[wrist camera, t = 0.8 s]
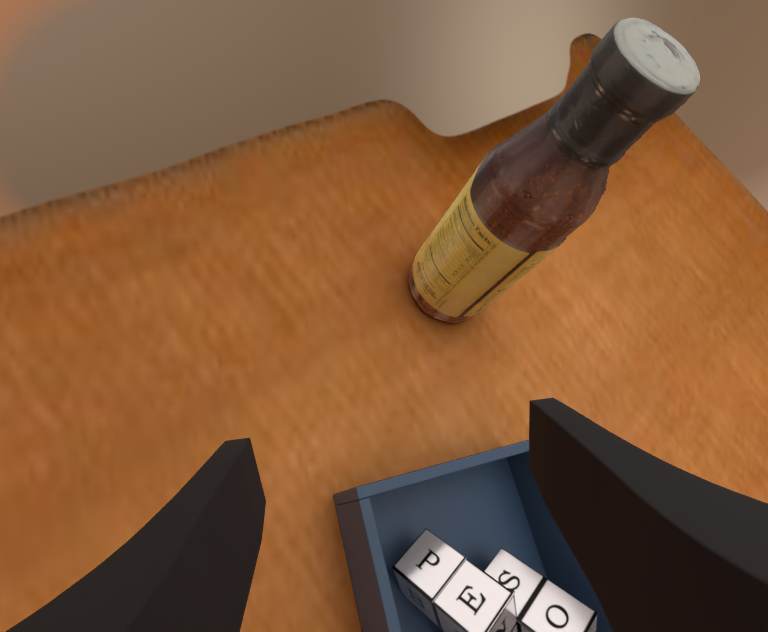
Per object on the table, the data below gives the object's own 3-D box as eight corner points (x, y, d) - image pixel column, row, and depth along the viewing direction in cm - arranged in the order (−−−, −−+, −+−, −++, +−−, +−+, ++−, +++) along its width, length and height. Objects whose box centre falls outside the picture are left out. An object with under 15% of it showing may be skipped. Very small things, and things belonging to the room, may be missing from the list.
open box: (592, 697, 27) (656, 722, 23) (400, 813, 22) (443, 870, 18) (506, 446, 31) (549, 434, 28) (332, 494, 26) (355, 487, 23)
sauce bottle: (473, 258, 37) (705, 25, 20) (484, 331, 35) (759, 134, 18) (396, 246, 35) (583, -26, 18) (401, 323, 33) (625, 90, 16)
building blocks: (411, 618, 27) (541, 741, 21) (391, 567, 24) (537, 693, 18) (467, 546, 29) (596, 638, 24) (456, 493, 27) (599, 583, 21)
